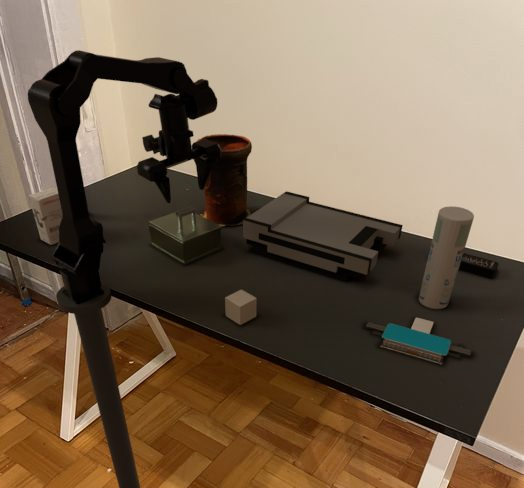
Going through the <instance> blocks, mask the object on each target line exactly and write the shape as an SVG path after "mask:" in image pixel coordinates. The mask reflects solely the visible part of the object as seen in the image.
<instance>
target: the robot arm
mask: <svg viewBox="0 0 524 488" xmlns="http://www.w3.org/2000/svg"><path fill="white" fill-rule="evenodd" d="M97 80H104V81H105V80H106V81H115V82H125V83H132V84H141V85H144V86H146V87H149V88H152V89H154V90H158V91H162V92H167V94H165V95H161V94H158V93H154V95H153V97H152V99H151V100H150V101H149V103H148V108H150V109H154V110H158V115H159V121H160V128H161V130H158V136H155V137H154V136H153V134H148V135H145V136H142V139H141V140H142V145H143V149H144V150H145V152H146V153H148V152H152V153H153V155H157V154H158V153H159V155H160V156H162V157H165V158H164V159H160V160H159V159H157V158H155V157H153V156H151V157H148V158H145V159H143V160H140V161H138V162H137V165H136V170H137V175H138V176H140V177H142V178H144V179H145V180H147V181H149V182H152V183H154V184H155V185H156V186H157V188H158V189H159V192H160V193H161V195H162V196H163V199H164V200H165V202H166V203H167V204H171V202H172V195H171V183H170V177H169V176H167V175H168V169H170V168H173V167H176V166H178V165H181V164H184V163H187V162H189V161H192V160H193V161H194V164H195V168H196V177H197V184H198V188H199V190H201V191H204V187H205V184H206V181H207V178H208V176H209V173H210V171H211V169H212V167H213V165H214V163H215V162H217V159H216V158H219V157H221V149H220V147H219V145H218V144H217V143H214V142H212V141H210V140H207V139H203V140H200V141H197V140H196V141H197V142H196V141H195V142H193V143H192V140H191V138H193V137H194V131H193V130H191V129H190V125H189V120H197V119H199V118H202V117H204V116H207V115H210V114H212V113H214V112H215V111H216V110H217V108H218V98H217V95H216V93H215V91H214V89H212V87H211V86H210V84H209V83H210V82H209V80H208V79H204V78H200V79H197V80H196V81H194V80H193V79H192V78H191V77H190V75H189V74H188V72H187V68H186V66H185V64H184V63H183V62H181V61H179V60H174V59H169V58H164V57H160V56H159V57H158V56H157V57H146V58H143V59H138V60H136V59H127V58H121V57H115V56H109V55H102V54H95V53H93V52H88V51H85V50H80V49H78V50H77V49H76V50H74V51H73V52H71V53H70V54H69V55H68V56H67V57H66V58H65V59H64V61H62V62H60V63H59V64H57V65H56V66H55V67H53V68H51V69H50V70H49V71H47V72H46V73H45V74H44V75H43V76H42V78H41V79H38V80H35V81H34V82H33V83H32V84H31V86H30V88H29V89H28V90H27V101H28V104H29V107H30V110H31V112H32V115H33V117H34V121H35V122H36V124H37V125H38V128H39V129H40V130H41V131H42V133H43V135H44V136H45V138H46V142H47V146H48V152H49V157H50V161H51V166H52V170H53V174H54V175H53V176H54V180H55V184H56V187H57V190H58V195H59V199H60V204H61V209H62V215H63V216H62V220H61V223H60V226H59V242H58V243H57V245H56V246H55V249H54V251H53V252H52V254H51V256H50V258H51V260H52V262H54V264H55V265H56V266H59V267H61V268H60V269H59V273H60V277H61V280H62V284H63V286H64V288H65V289H64V290H62V293H63V294H64V295H66V296H67V297H68V298H69V299H71V300H72V301H73V302H74V303H75V304H80V303H83V302H85V301H87V300H90V299H92V298H95V297H97V296H99V295H102V294H104V290H103V289H101V288H100V287H101V286H102V285H101V281H102V280H101V275H100V271H99V270H100V267H101V259H102V254H103V253H104V244H106V243H107V241H106V239H105V237H104V228H103V227H104V226H103V224H102V222H100V221H98V220H95V219H94V218H91V215H90V212H89V206H88V200H87V195H86V189H85V185H84V184H85V183H84V177H83V173H82V167H81V161H80V155H79V150H78V144H77V135H78V133H79V129H80V126H81V123H82V122H81V121H82V120H81V107H82V106H84V104H85V103H86V102H87V101H88V99H89V98H90V96H91V92H92V90H93V86H94V84H95V83H96V81H97Z"/></svg>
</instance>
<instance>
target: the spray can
mask: <svg viewBox="0 0 524 488" xmlns="http://www.w3.org/2000/svg"><path fill="white" fill-rule="evenodd" d="M474 219H475V214H474V213H473V211H471V210H469V209H468V208H465V207H462V206H461V207H460V206H444V207H441V208H440V209H438V213H437V217H436V222H435V227H434V230H433V235H432V238H431V239H432V240H431V244H430V248H429V251H428V257H427V260H426V265H425V269H424V274H423V278H422V282H421V286H420V291H419V295H418V302H419V303H420V304H421V305H422V306H424V307H425V308H429V309H432V310H441V309H445V308H446V307H448V305H449V303H450V300H451V297H452V294H453V293H452V292H453V290H454V286H455V283H456V281H457V280H456V279H457V275H458V272H459V270H458V269H459V266H460V263H461V259H462V256H463V253H465V250H466V249H465V248H466V245H467V242H468V239H469V236H470V235H469V234H470V232H471V228H472V225H473V221H474Z"/></svg>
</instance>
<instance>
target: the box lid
mask: <svg viewBox="0 0 524 488" xmlns="http://www.w3.org/2000/svg"><path fill="white" fill-rule="evenodd" d="M197 212H198V209H197V207H196V205H194V204H193V205H191V206H188V207H185V208H182V209H179V210H177V211H175V212H172V213H168V214H166V215H164V216H163V215H162V216H161V217H158V218H155V219H151V220H149V221H148V225H149V224H150V225H152V226H154V227H155V228H157V229H159V230H161V231H163V232H164V233H166V234H168V235H170V236H171V237H173V238H175V239H177V240H179V241H180V242H182V243H187V242H189V241H192V240H194V239H197V238H199V237H202V236H204V235H207V234H209V233H212V232H214V231H217V230H219V229H221V230H222V229H223V226H220V225H218V224H216V223H214V222H212V221H210V220H208V219H206V218H204V217H202V216H201V215H200V214H198V213H197Z"/></svg>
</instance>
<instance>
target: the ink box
mask: <svg viewBox="0 0 524 488" xmlns="http://www.w3.org/2000/svg"><path fill="white" fill-rule="evenodd" d="M28 199H29V203H30V207H31V209H32V210H31V211H32V213H33V217H34V221H35V224H36V228H37V231H38V234H39V239H40V240H41V241H43V242H45V243H46V244H48V245H50V246H53V245H56V244H58V243H59V226H60V223H61V220H62V216H63V215H62V209H61V204H60V199H59V195H58V190H57V186H54V187H50V188H47V189H44V190H41V191H37V192H35V193H31V194H29V195H28Z"/></svg>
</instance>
